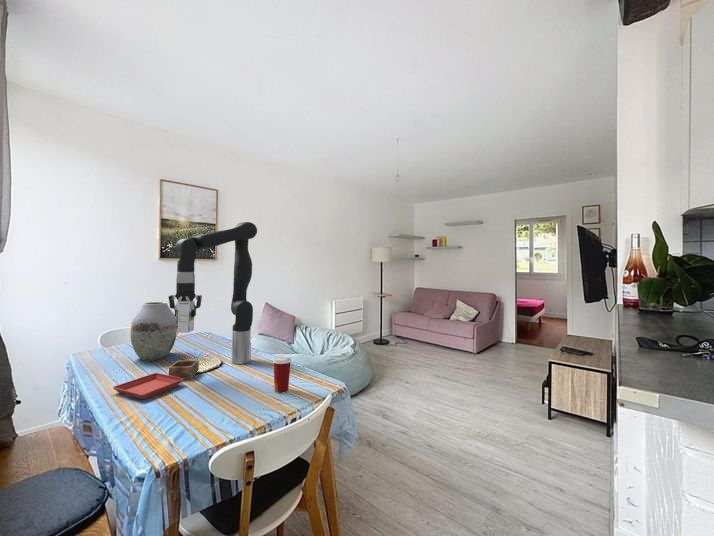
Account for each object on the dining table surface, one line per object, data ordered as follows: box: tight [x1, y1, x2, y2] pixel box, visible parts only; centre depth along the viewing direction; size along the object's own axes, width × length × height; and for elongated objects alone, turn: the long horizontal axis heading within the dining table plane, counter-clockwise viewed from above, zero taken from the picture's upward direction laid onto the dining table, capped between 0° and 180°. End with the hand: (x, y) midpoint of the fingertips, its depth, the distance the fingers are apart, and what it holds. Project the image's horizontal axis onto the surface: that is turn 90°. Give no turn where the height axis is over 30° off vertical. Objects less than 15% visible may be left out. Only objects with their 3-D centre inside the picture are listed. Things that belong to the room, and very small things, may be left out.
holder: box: [168, 359, 200, 380], centre depth 143 cm, size 10×10×6 cm
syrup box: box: [176, 299, 195, 334], centre depth 143 cm, size 6×6×14 cm
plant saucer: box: [112, 372, 184, 400], centre depth 127 cm, size 18×18×3 cm
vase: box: [129, 301, 178, 362], centre depth 168 cm, size 21×21×30 cm
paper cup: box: [272, 354, 292, 394], centre depth 130 cm, size 8×8×14 cm
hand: (185, 317), depth 143 cm, fingers closed on syrup box, 6 cm apart
